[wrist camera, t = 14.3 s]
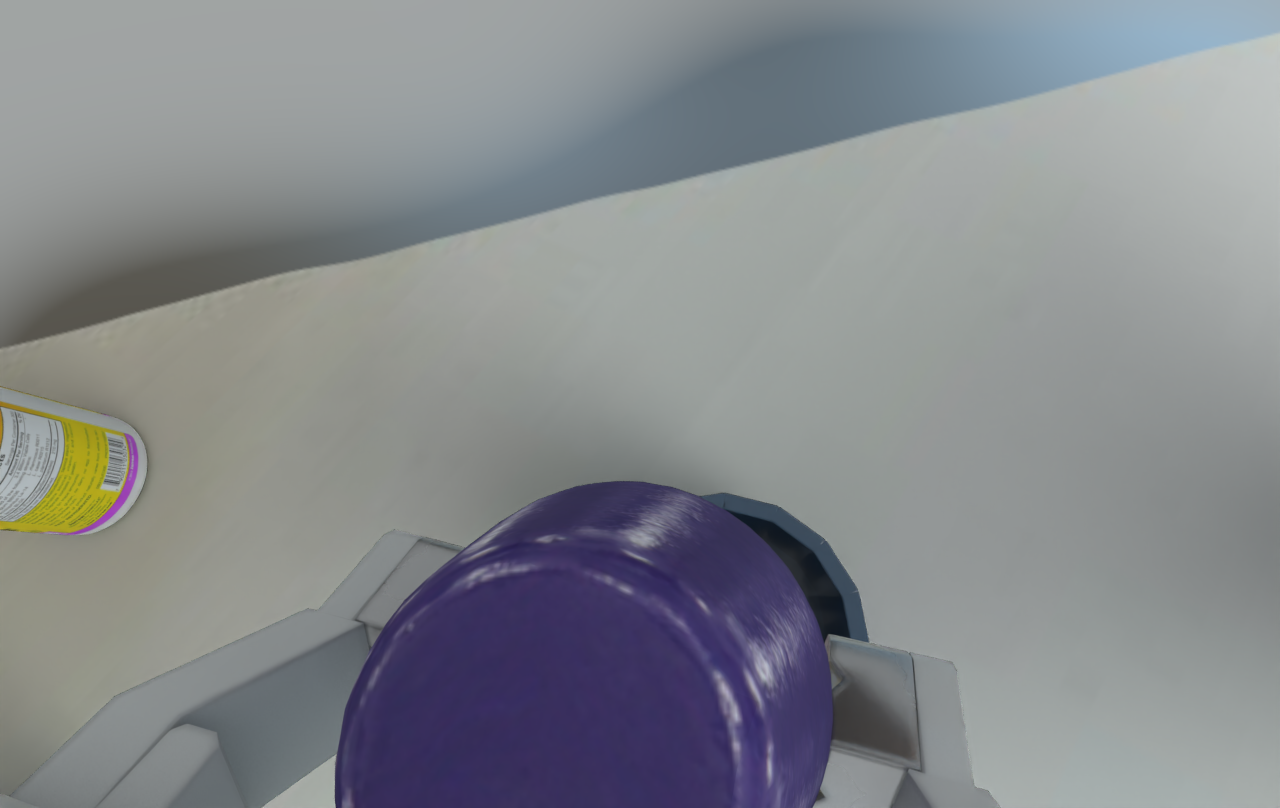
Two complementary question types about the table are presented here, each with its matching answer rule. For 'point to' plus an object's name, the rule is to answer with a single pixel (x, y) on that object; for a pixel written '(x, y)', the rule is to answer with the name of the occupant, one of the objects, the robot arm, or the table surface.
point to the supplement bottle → (65, 466)
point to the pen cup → (804, 564)
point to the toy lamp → (596, 668)
